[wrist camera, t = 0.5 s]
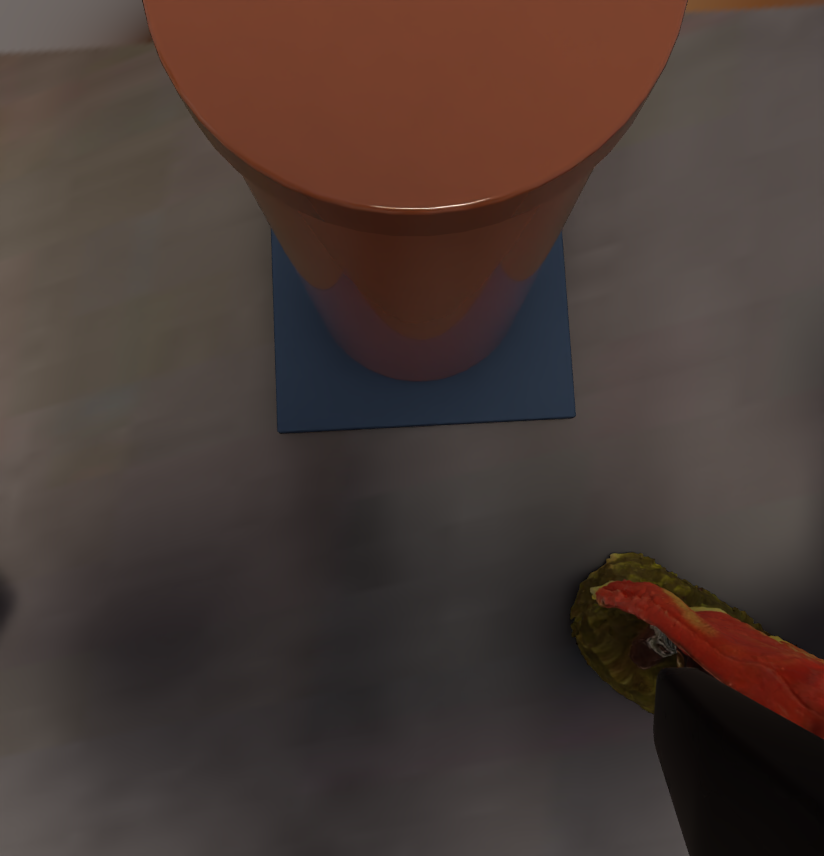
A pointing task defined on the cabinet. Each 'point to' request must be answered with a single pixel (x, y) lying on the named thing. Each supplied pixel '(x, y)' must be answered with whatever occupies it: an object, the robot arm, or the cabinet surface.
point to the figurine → (687, 641)
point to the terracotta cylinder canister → (415, 146)
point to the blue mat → (421, 400)
